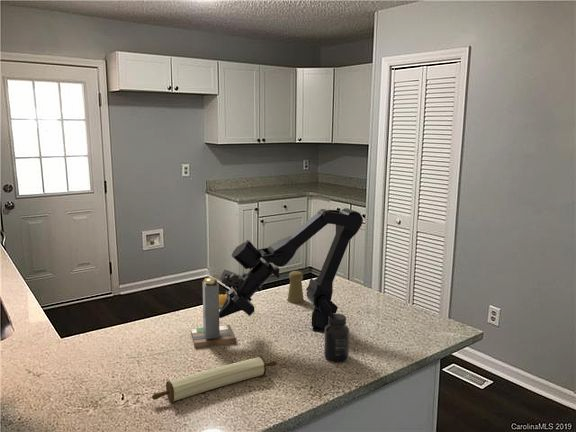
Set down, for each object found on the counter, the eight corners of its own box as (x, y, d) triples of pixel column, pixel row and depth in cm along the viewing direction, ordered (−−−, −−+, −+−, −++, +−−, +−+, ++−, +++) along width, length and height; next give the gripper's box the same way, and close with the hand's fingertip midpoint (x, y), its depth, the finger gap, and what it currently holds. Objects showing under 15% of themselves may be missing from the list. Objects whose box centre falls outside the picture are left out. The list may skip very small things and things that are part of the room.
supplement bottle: (350, 353, 133) (352, 313, 131) (345, 365, 127) (347, 323, 125) (327, 349, 135) (328, 310, 133) (321, 360, 129) (322, 319, 127)
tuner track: (229, 328, 148) (229, 324, 148) (235, 342, 139) (235, 337, 139) (190, 333, 145) (190, 328, 144) (194, 347, 135) (194, 342, 135)
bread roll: (242, 306, 168) (242, 295, 167) (218, 310, 164) (218, 299, 163) (233, 298, 175) (233, 288, 174) (210, 302, 171) (210, 292, 170)
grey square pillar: (215, 325, 146) (214, 272, 142) (219, 337, 138) (218, 281, 134) (202, 327, 144) (200, 273, 141) (205, 339, 136) (204, 282, 133)
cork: (303, 303, 170) (304, 274, 168) (287, 303, 170) (287, 274, 168) (303, 297, 176) (304, 269, 174) (287, 297, 176) (287, 269, 174)
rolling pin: (270, 366, 126) (270, 349, 125) (281, 376, 121) (281, 358, 120) (149, 400, 110) (148, 380, 109) (155, 412, 105) (155, 392, 104)
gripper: (230, 253, 146) (195, 289, 145) (243, 270, 129) (203, 312, 127) (255, 275, 150) (221, 311, 149) (270, 295, 133) (232, 336, 131)
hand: (218, 316), depth 139 cm, fingers closed, pressing on grey square pillar
